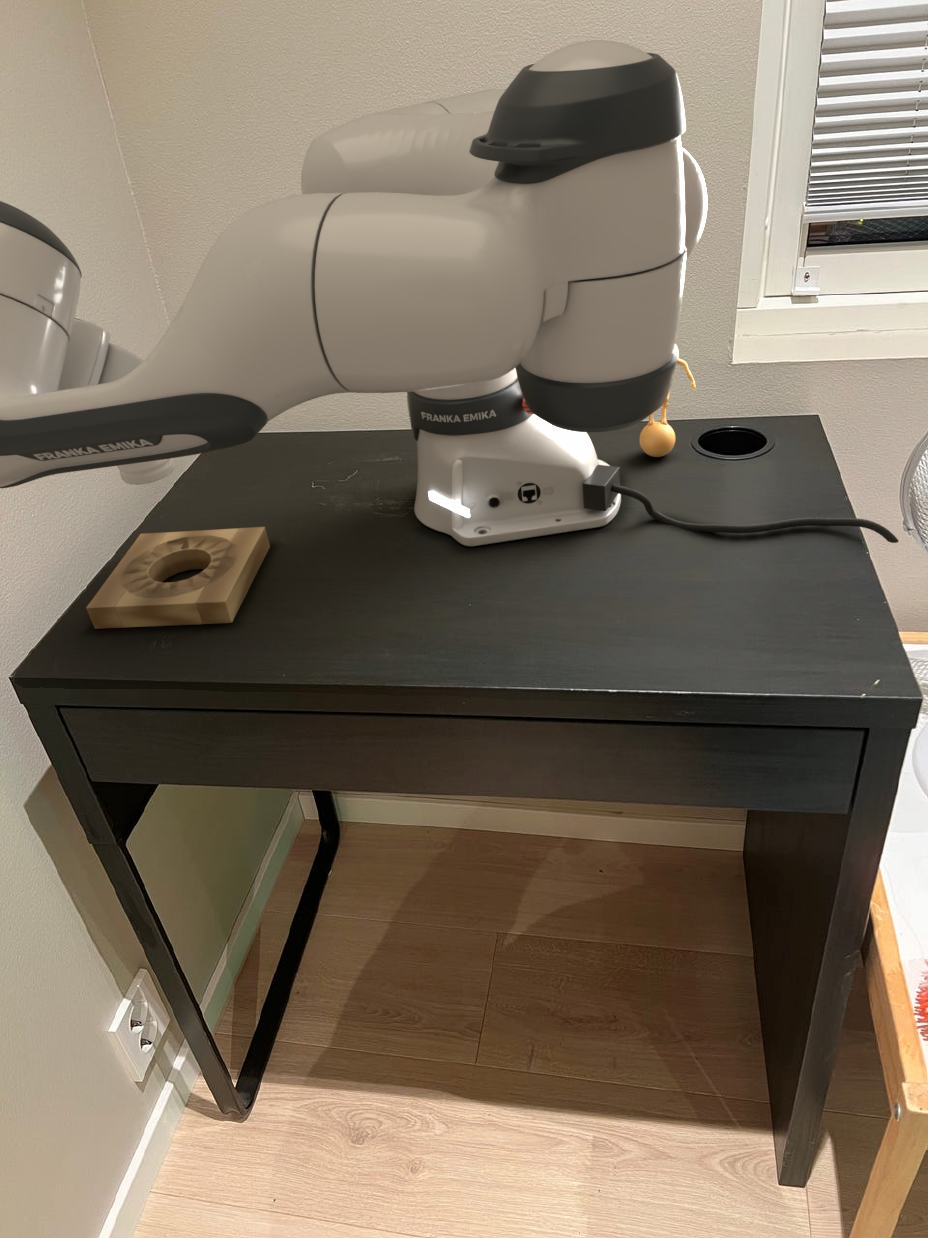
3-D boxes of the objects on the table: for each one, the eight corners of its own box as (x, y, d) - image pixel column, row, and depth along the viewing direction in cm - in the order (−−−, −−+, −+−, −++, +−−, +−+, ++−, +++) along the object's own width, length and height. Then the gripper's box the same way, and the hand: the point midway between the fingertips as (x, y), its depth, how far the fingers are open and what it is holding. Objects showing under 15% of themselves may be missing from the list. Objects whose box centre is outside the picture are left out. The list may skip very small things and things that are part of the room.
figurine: (620, 464, 105) (618, 361, 98) (621, 441, 110) (619, 342, 103) (695, 461, 104) (698, 357, 97) (693, 438, 108) (696, 337, 101)
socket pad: (270, 546, 99) (265, 526, 98) (232, 623, 88) (225, 601, 86) (147, 553, 101) (140, 533, 100) (94, 629, 90) (85, 608, 88)
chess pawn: (115, 488, 85) (81, 395, 80) (130, 464, 89) (98, 375, 84) (168, 482, 85) (137, 388, 80) (181, 458, 89) (152, 368, 84)
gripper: (-84, 384, 77) (51, 443, 89) (88, 404, 68) (211, 467, 80) (-62, 313, 77) (69, 381, 90) (112, 324, 68) (230, 398, 81)
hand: (137, 422), depth 85 cm, fingers closed on chess pawn, 3 cm apart
